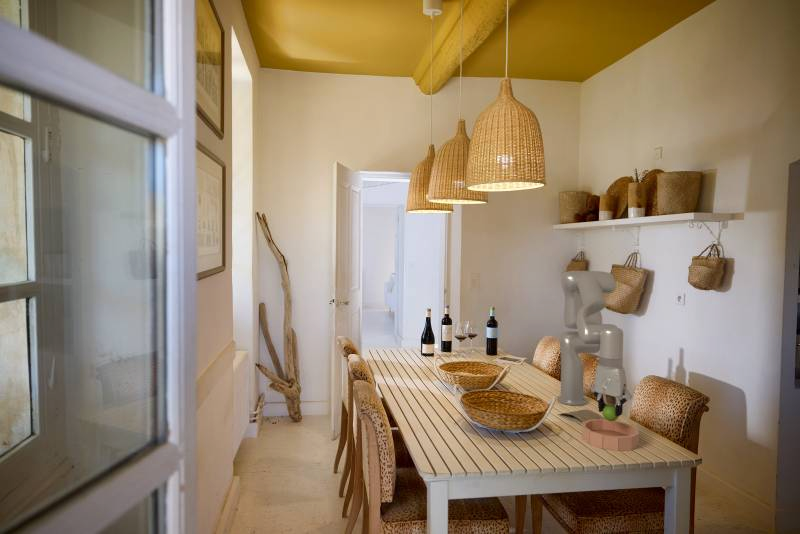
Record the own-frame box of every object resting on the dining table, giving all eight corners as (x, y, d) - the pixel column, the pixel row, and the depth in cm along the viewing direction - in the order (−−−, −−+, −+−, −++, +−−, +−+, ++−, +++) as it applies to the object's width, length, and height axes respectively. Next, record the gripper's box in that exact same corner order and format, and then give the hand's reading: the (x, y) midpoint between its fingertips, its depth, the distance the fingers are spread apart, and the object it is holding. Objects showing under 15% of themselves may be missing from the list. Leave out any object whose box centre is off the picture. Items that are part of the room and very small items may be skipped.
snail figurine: (596, 419, 179) (597, 386, 178) (610, 417, 181) (611, 384, 181) (607, 424, 174) (608, 390, 173) (622, 422, 176) (622, 388, 176)
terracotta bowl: (598, 427, 190) (598, 415, 190) (647, 442, 176) (647, 429, 176) (571, 438, 179) (572, 426, 179) (622, 455, 164) (622, 441, 164)
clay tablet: (608, 423, 197) (608, 416, 197) (588, 428, 191) (588, 420, 191) (575, 412, 211) (575, 405, 211) (556, 416, 205) (556, 409, 205)
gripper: (583, 359, 181) (582, 409, 181) (629, 368, 168) (628, 421, 168) (594, 357, 186) (593, 405, 186) (640, 365, 172) (639, 417, 173)
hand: (610, 412), depth 177 cm, fingers closed on snail figurine, 5 cm apart
